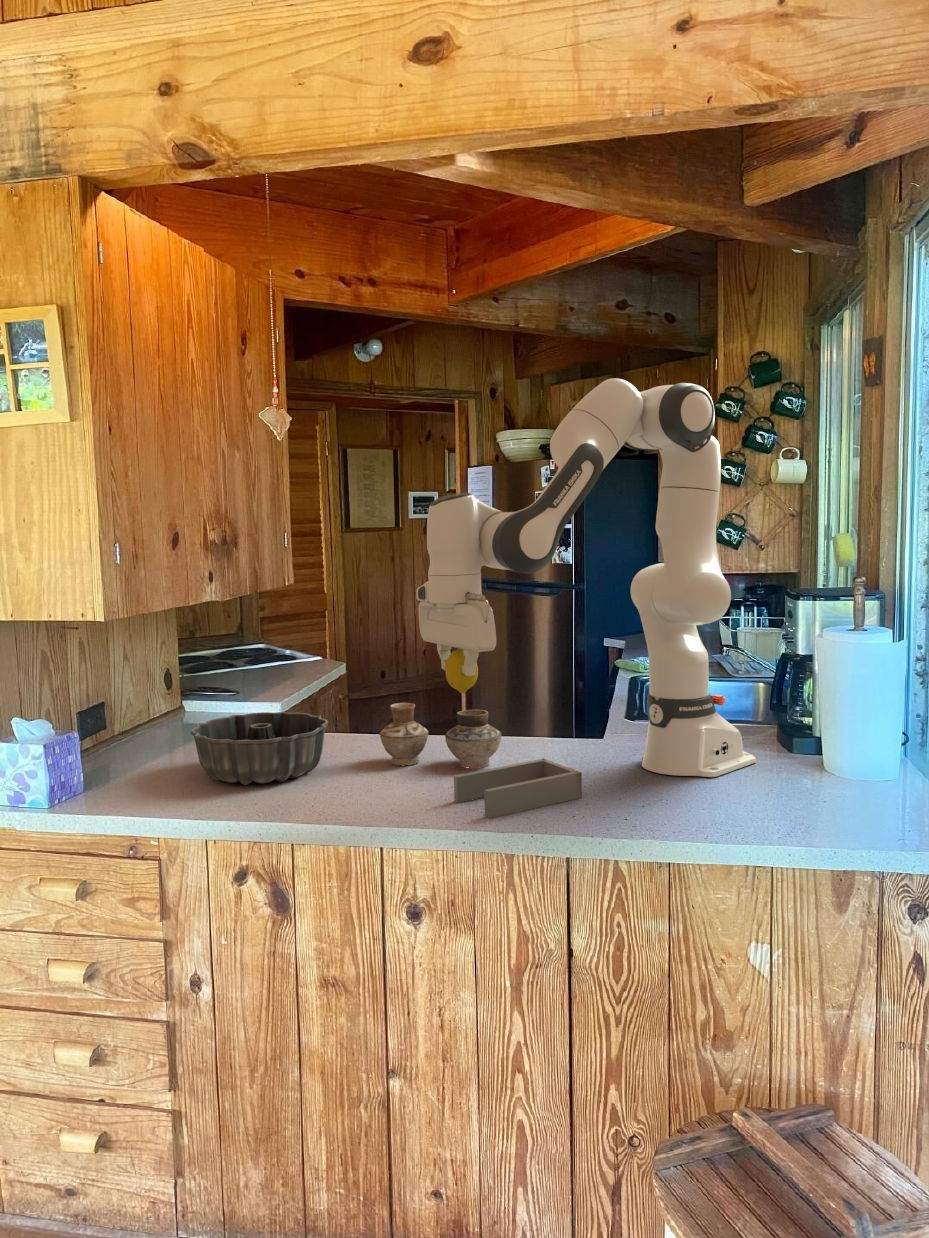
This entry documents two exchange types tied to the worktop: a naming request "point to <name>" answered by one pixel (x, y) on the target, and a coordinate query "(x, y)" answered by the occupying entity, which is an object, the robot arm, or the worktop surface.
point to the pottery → (465, 740)
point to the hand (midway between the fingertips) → (458, 672)
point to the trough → (519, 786)
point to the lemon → (459, 672)
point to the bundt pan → (260, 746)
